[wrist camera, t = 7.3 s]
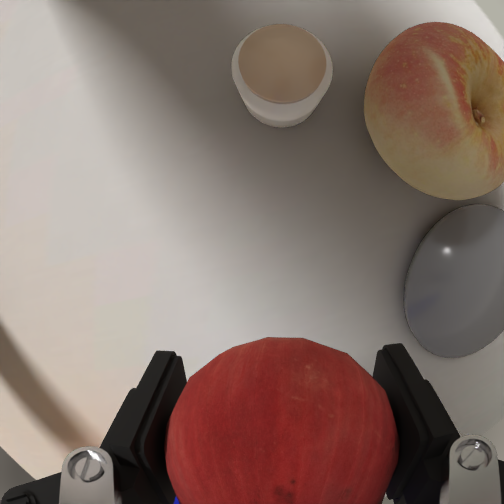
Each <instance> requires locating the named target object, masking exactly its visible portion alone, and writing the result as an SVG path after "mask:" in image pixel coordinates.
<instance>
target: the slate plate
mask: <svg viewBox="0 0 504 504" xmlns="http://www.w3.org/2000/svg"><path fill="white" fill-rule="evenodd" d="M404 310H405V315H406V319H407V322H408V325H409V327H410V329H411V331H412V333H413V335H414V336H415V337H416V339H417V340H418V341H419V343H420V344H421V345H422V346H423V347H424V348H425V349H426V350H428V351H429V352H431V353H433V354H435V355H438V356H442V357H449V358H455V357H462V356H466V355H469V354H472V353H474V352H476V351H478V350H480V349H482V348H484V347H485V346H486V345H488V344H489V343H491V342H492V341H493V340H494V339H495V338H497V337H498V335H499V334H500V333H501V332H502V331H503V330H504V211H503V210H501V209H499V208H496V207H493V206H489V205H483V204H471V205H467V206H463V207H461V208H458V209H456V210H454V211H452V212H450V213H449V214H447V215H446V216H445V217H443V218H442V219H441V220H439V221H438V222H437V223H436V224H435V225H434V226H433V227H432V228H431V230H430V231H429V232H428V233H427V235H426V236H425V237H424V239H423V240H422V242H421V244H420V245H419V247H418V249H417V251H416V253H415V255H414V257H413V259H412V262H411V264H410V267H409V270H408V274H407V277H406V283H405V289H404Z"/></svg>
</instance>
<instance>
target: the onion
mask: <svg viewBox="0 0 504 504" xmlns="http://www.w3.org/2000/svg"><path fill="white" fill-rule="evenodd" d="M399 447H400V439H399V435H398V431H397V427H396V423H395V420H394V416H393V412H392V409H391V406H390V403H389V400H388V397H387V394H386V391H385V390H384V389H383V388H382V387H381V386H380V385H379V384H378V382H377V381H376V380H375V379H374V378H373V377H372V376H371V375H370V374H369V373H368V372H367V371H366V370H365V369H363V368H362V367H361V366H360V365H359V364H358V363H357V362H356V361H355V360H354V359H353V358H352V357H351V356H350V355H348V354H347V353H345V352H342V351H339V350H336V349H333V348H330V347H327V346H324V345H321V344H318V343H316V342H313V341H310V340H307V339H304V338H276V337H267V338H263V339H260V340H257V341H253V342H250V343H246V344H242V345H239V346H235V347H232V348H231V349H229V350H227V351H225V352H223V353H221V354H219V355H218V356H217V357H215V358H214V359H213V360H212V361H210V362H209V363H208V364H207V365H205V366H204V367H203V368H201V369H200V370H199V371H198V372H196V373H195V374H194V375H192V376H191V377H190V378H189V380H188V382H187V384H186V385H185V387H184V389H183V391H182V393H181V395H180V397H179V399H178V401H177V403H176V405H175V407H174V409H173V412H172V414H171V416H170V418H169V420H168V423H167V427H166V436H165V445H164V451H165V459H166V466H167V472H168V475H169V478H170V481H171V484H172V487H173V490H174V492H175V494H176V497H177V499H178V501H179V504H382V501H383V499H384V496H385V493H386V490H387V488H388V486H389V483H390V481H391V478H392V476H393V473H394V471H395V468H396V466H397V463H398V457H399Z"/></svg>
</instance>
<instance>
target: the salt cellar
mask: <svg viewBox="0 0 504 504" xmlns="http://www.w3.org/2000/svg"><path fill="white" fill-rule="evenodd" d="M231 71H232V77H233V81H234V83H235V85H236V87H237V89H238V91H239V93H240V95H241V97H242V99H243V101H244V103H245V105H246V107H247V109H248V110H249V112H250V113H251V114H252V115H253V116H254V117H255V118H256V119H257V120H259V121H260V122H262V123H264V124H266V125H269V126H272V127H281V128H283V127H291V126H294V125H297V124H299V123H301V122H303V121H304V120H306V119H307V118H308V117H309V116H310V115H311V114H312V112H313V111H314V109H315V108H316V106H317V105H318V103H319V102H320V100H321V99H322V97H323V96H324V94H325V93H326V91H327V90H328V88H329V86H330V83H331V80H332V74H333V66H332V60H331V57H330V54H329V52H328V50H327V49H326V47H325V46H324V44H323V43H322V42H321V41H320V40H319V39H318V38H317V37H316V36H315V35H313V34H312V33H310V32H309V31H307V30H305V29H302V28H300V27H297V26H293V25H287V24H274V25H268V26H264V27H261V28H259V29H256V30H254V31H253V32H251V33H250V34H248V35H247V36H246V37H245V38H244V39H243V40H242V41H241V42H240V43H239V45H238V46H237V48H236V50H235V52H234V54H233V57H232V63H231Z"/></svg>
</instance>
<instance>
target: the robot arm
mask: <svg viewBox="0 0 504 504" xmlns="http://www.w3.org/2000/svg"><path fill="white" fill-rule="evenodd" d="M373 378H374V379H375V380H376V381H377V382H378V384H379V385H380V386H381V387H382V388H383V389H384V390H385V391H386V394H387V397H388V400H389V403H390V406H391V409H392V412H393V416H394V420H395V423H396V427H397V431H398V435H399V439H400V447H399V457H398V463H397V466H396V468H395V471H394V473H393V476H392V478H391V481H390V483H389V486H388V488H387V490H386V495H387V497H388V499H389V500H391V499H393V500H394V504H504V461H501V460H498V458H497V452H496V449H495V447H494V445H493V444H492V443H491V441H489V440H488V439H487V438H485V437H482V436H480V435H465V436H463V437H460V435H459V433H458V431H457V429H456V428H455V426H454V424H453V422H452V420H451V419H450V417H449V415H448V413H447V411H446V410H445V408H444V406H443V404H442V403H441V401H440V399H439V397H438V396H437V394H436V392H435V391H434V389H433V387H432V386H431V384H430V383H429V381H428V380H424V379H423V377H422V375H421V374H420V372H419V370H418V369H417V367H416V365H415V364H414V362H413V360H412V359H411V357H410V355H409V354H408V352H407V350H406V349H405V347H404V345H403V344H401V343H398V344H389V345H384V346H383V349H382V350H379V351H378V352H377V356H376V362H375V367H374V372H373ZM186 384H187V380H186V375H185V371H184V366H183V361H182V358H181V356H177V355H176V353H175V352H174V351H156V352H155V354H154V356H153V358H152V360H151V362H150V363H149V365H148V367H147V369H146V371H145V373H144V375H143V377H142V379H141V381H140V382H139V384H138V386H137V388H133V389H131V390H130V391H129V393H128V395H127V396H126V398H125V400H124V402H123V404H122V406H121V408H120V409H119V411H118V413H117V415H116V417H115V419H114V421H113V423H112V425H111V427H110V428H109V430H108V432H107V434H106V436H105V438H104V440H103V442H102V444H101V446H100V448H98V447H92V446H86V447H80V448H78V449H76V450H73V451H72V452H71V453H70V454H68V455H67V457H66V458H65V460H64V462H63V465H62V472H60V473H57V474H54V475H51V476H48V477H45V478H42V479H39V480H36V481H33V482H30V483H26V484H23V485H19V486H16V487H13V488H11V489H9V490H8V491H7V492H6V493H5V494H4V496H3V497H2V500H0V504H174V501H175V497H176V494H175V492H174V490H173V487H172V484H171V481H170V478H169V475H168V472H167V466H166V459H165V451H164V445H165V436H166V427H167V423H168V420H169V418H170V416H171V414H172V412H173V409H174V407H175V405H176V403H177V401H178V399H179V397H180V395H181V393H182V391H183V389H184V387H185V385H186Z"/></svg>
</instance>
